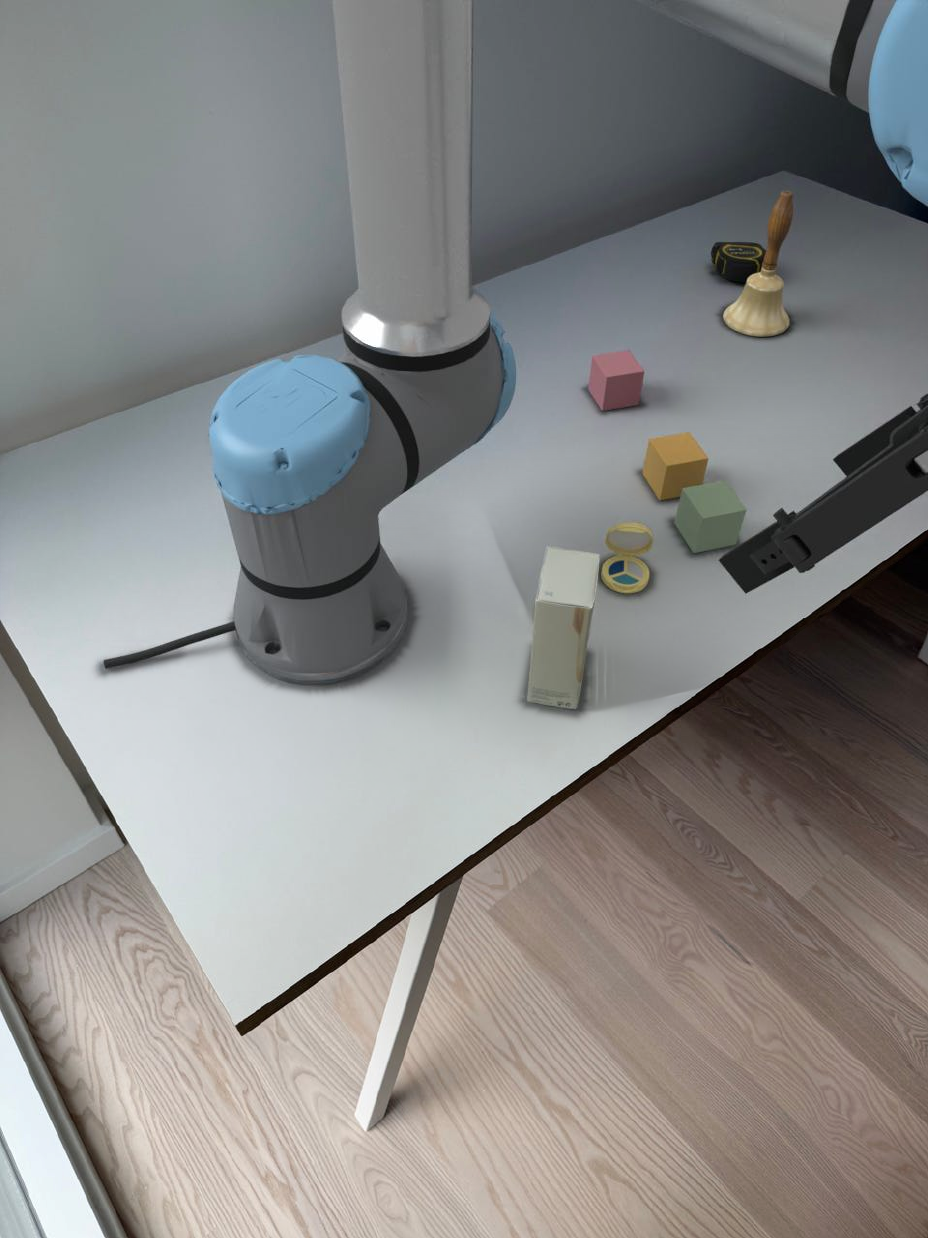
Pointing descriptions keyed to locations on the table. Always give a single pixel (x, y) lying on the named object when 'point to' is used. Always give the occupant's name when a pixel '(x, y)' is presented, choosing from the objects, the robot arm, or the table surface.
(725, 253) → the tape measure
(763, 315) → the hand bell
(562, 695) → the cosmetic box
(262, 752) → the table surface
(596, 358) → the colored toy blocks
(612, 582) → the eyeshadow
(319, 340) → the table surface
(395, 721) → the table surface
